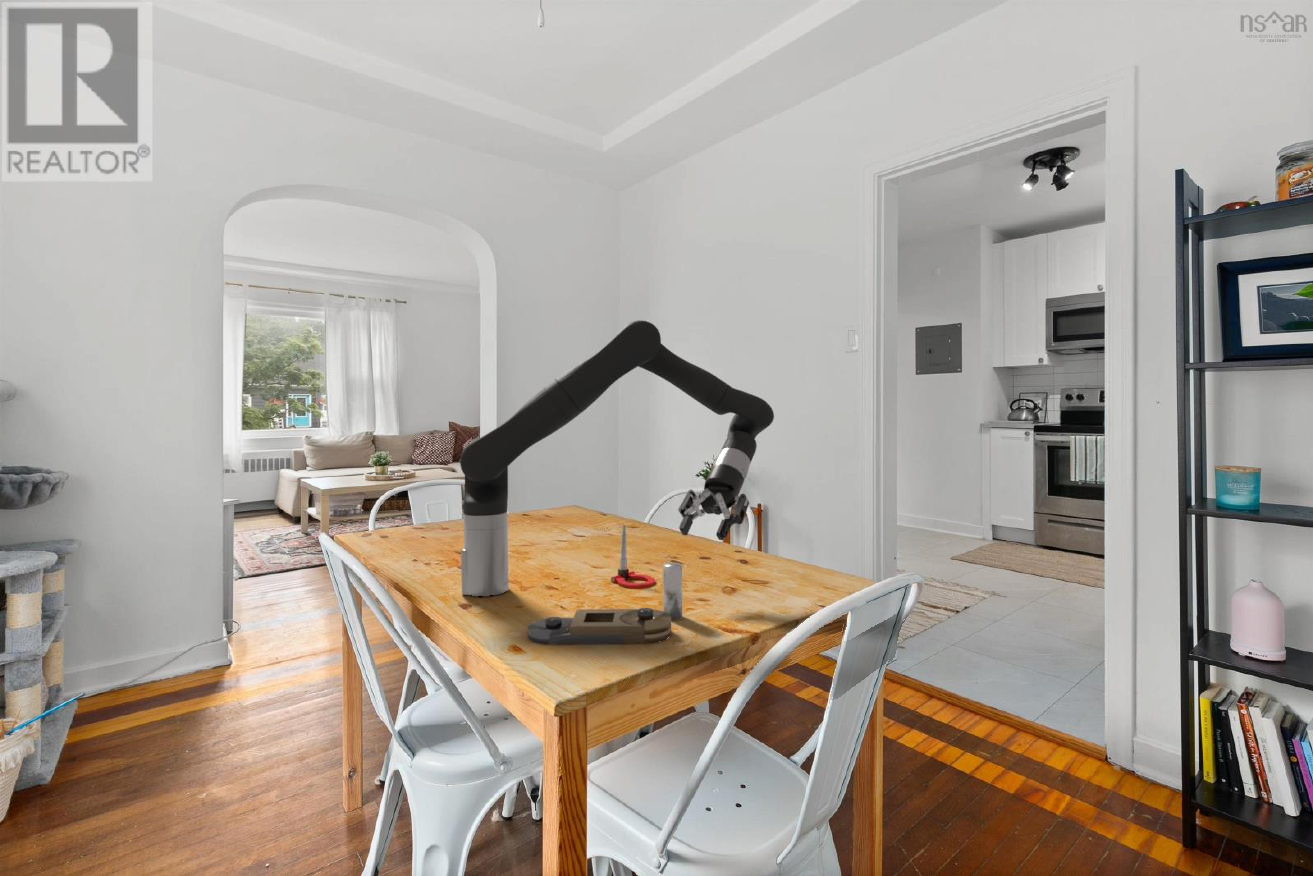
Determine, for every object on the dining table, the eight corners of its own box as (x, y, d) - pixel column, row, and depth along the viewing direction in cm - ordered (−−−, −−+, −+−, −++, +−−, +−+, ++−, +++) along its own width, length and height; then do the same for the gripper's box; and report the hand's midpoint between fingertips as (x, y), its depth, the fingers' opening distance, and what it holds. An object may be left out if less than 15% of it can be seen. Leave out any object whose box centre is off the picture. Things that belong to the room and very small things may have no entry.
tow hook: (662, 584, 142) (633, 576, 149) (663, 528, 141) (634, 522, 148) (636, 593, 136) (607, 583, 143) (637, 534, 135) (608, 527, 142)
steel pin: (663, 620, 117) (663, 567, 116) (663, 614, 120) (662, 562, 120) (682, 620, 117) (682, 567, 116) (682, 614, 120) (681, 562, 120)
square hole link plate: (522, 644, 105) (522, 619, 105) (533, 626, 114) (532, 603, 114) (671, 643, 105) (671, 618, 105) (670, 625, 114) (670, 602, 114)
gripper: (693, 461, 137) (664, 521, 128) (752, 464, 129) (725, 528, 120) (705, 483, 142) (678, 542, 133) (763, 487, 133) (738, 550, 125)
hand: (700, 535), depth 126 cm, fingers open, 8 cm apart
